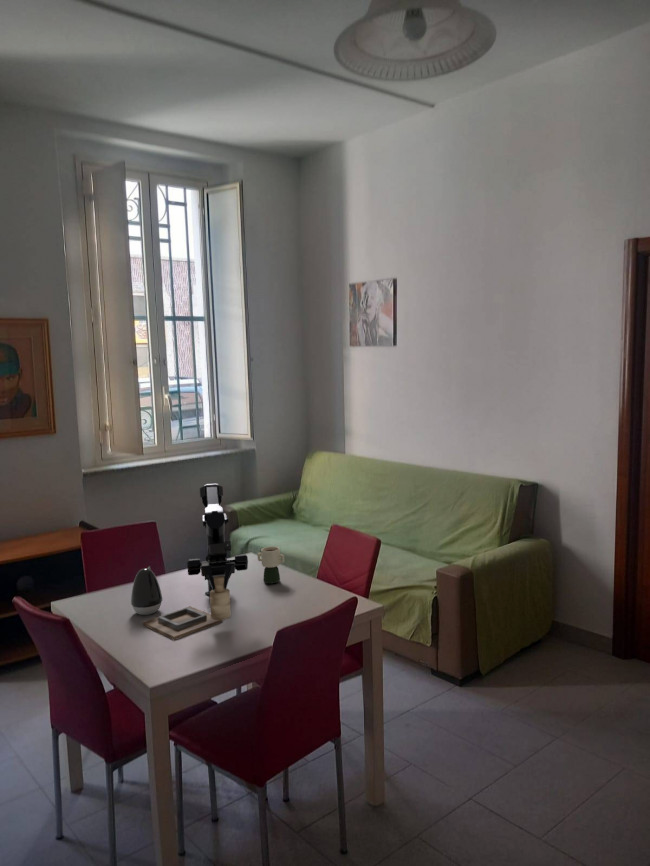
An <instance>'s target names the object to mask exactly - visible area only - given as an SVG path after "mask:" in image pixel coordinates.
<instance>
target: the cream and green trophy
mask: <svg viewBox="0 0 650 866" xmlns="http://www.w3.org/2000/svg"><path fill="white" fill-rule="evenodd" d="M257 561H258V562H261V566H262V567H264V571H263V580H262V581H263V583H266V584H274V583H275V584H276V583H278V582H280V581H281V576H280V571H279V566H280V565H281V564H283V563H285V554H282V553H281V549H280V547H279V546H276V545H275V546H274V545H273V546H272V545H271V546H265V547H262V548H260V552H257Z"/></svg>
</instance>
